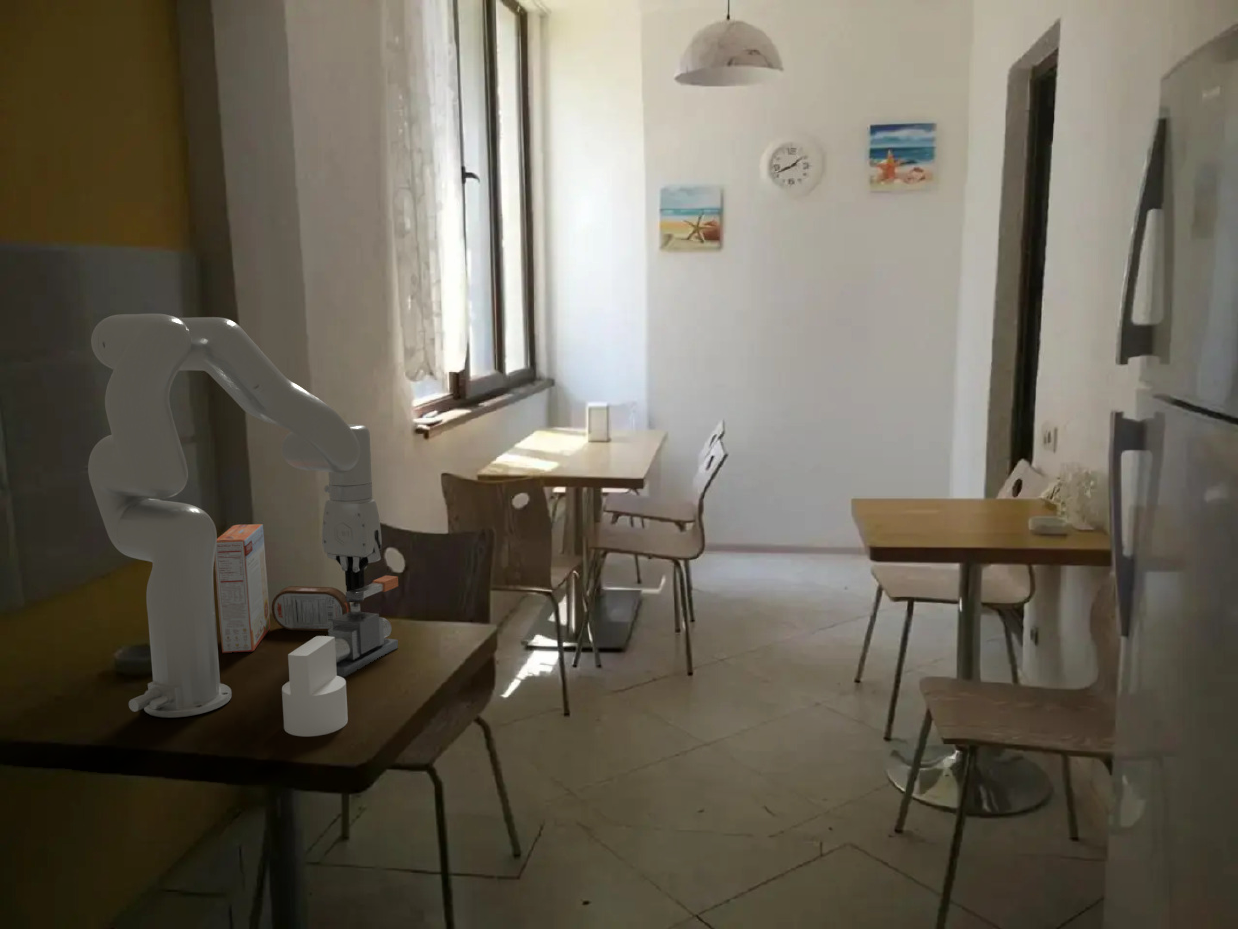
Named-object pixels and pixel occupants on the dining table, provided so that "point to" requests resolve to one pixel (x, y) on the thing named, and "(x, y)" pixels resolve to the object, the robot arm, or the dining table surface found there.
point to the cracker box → (242, 588)
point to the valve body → (360, 639)
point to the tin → (309, 607)
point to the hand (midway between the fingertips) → (355, 591)
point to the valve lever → (372, 588)
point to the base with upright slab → (314, 690)
